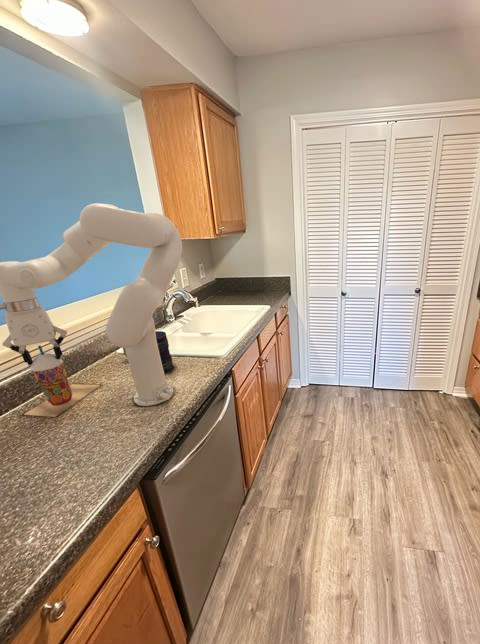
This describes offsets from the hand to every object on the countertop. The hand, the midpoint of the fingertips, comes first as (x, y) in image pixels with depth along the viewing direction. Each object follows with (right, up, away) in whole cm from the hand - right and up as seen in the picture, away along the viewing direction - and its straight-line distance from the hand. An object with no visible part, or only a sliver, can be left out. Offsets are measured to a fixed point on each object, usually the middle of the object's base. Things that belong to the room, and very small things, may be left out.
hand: (45, 360), depth 101 cm
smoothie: (+1, -14, +6) cm, 15 cm away
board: (-2, -14, +11) cm, 18 cm away
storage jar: (+24, -5, +29) cm, 38 cm away
